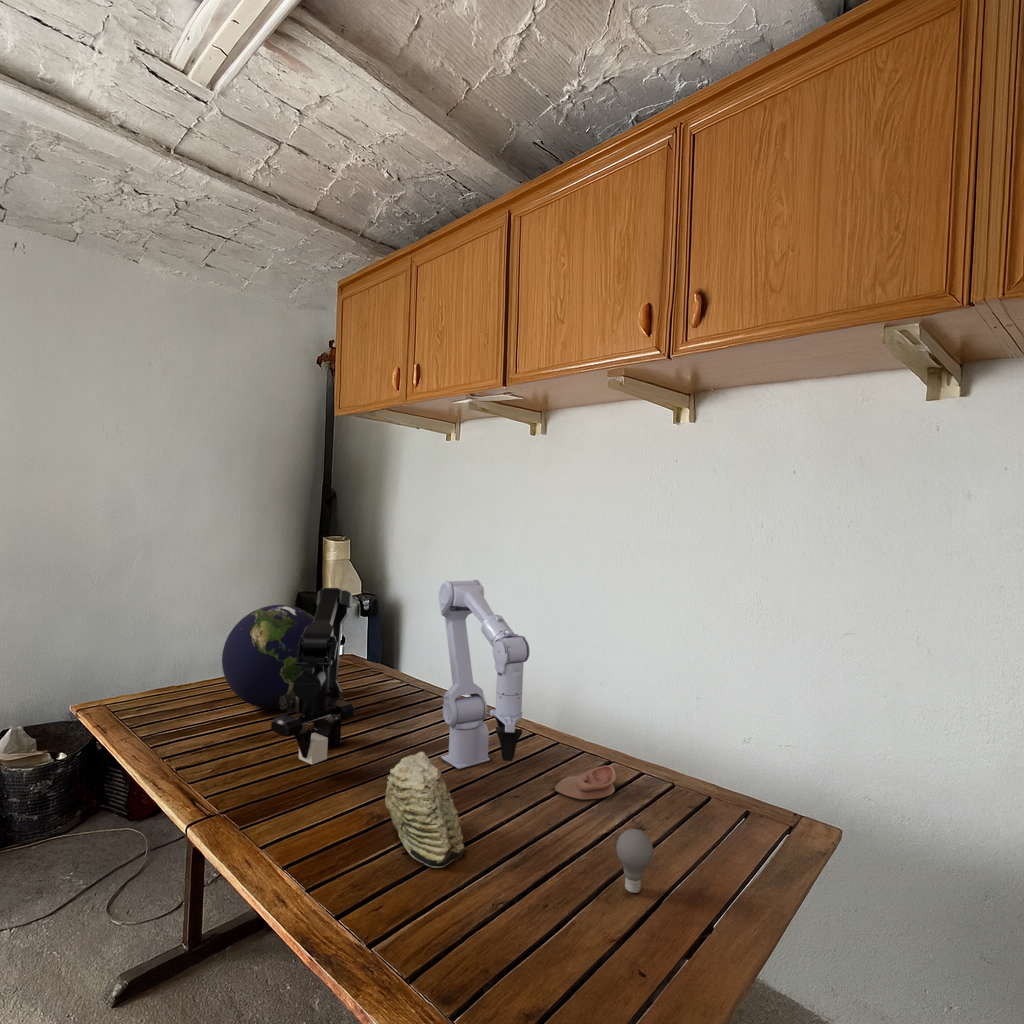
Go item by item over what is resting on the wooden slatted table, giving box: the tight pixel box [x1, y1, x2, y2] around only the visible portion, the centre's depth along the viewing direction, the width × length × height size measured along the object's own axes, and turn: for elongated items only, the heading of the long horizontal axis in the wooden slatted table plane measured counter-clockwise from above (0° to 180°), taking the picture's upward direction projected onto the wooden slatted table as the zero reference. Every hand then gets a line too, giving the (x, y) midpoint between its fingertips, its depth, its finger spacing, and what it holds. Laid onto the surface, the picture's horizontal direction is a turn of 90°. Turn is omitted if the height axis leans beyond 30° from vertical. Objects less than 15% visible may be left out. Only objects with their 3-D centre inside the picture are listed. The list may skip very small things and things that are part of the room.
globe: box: [221, 604, 315, 709], centre depth 188 cm, size 30×30×30 cm
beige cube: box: [298, 733, 329, 765], centre depth 144 cm, size 4×5×5 cm
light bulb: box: [615, 828, 654, 894], centre depth 106 cm, size 6×6×10 cm
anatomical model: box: [554, 765, 617, 800], centre depth 143 cm, size 13×4×12 cm
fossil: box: [384, 751, 466, 869], centre depth 117 cm, size 9×18×15 cm, turn 46°
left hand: (313, 754), depth 144 cm, fingers closed on beige cube, 4 cm apart
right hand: (506, 753), depth 139 cm, fingers open, 7 cm apart
